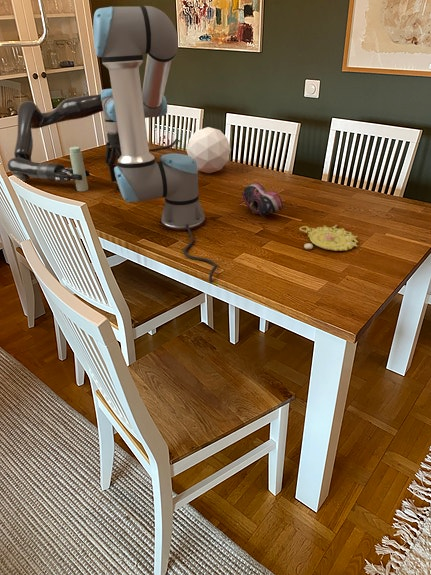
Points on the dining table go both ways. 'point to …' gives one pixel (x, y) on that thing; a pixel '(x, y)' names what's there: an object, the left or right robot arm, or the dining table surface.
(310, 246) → the decorative object
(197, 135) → the sphere
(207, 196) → the dining table surface
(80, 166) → the pale green capped tube
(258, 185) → the athletic shoe
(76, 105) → the left robot arm
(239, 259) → the dining table surface
